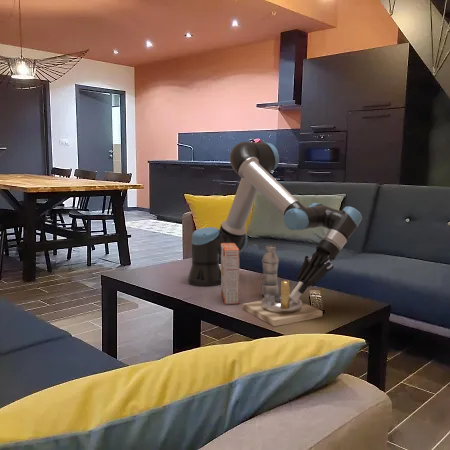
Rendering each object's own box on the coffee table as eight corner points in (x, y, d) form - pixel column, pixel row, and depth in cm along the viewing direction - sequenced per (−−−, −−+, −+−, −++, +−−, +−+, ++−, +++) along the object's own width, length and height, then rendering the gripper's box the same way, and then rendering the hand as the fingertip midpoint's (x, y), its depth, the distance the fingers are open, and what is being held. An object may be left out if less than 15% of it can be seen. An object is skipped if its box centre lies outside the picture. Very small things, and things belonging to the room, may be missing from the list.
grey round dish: (259, 300, 172) (260, 271, 171) (297, 300, 173) (298, 271, 171) (264, 315, 157) (265, 282, 155) (306, 314, 157) (307, 282, 155)
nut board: (242, 309, 170) (242, 303, 170) (287, 301, 180) (287, 295, 179) (274, 326, 153) (274, 320, 152) (322, 316, 162) (322, 310, 162)
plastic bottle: (277, 298, 183) (278, 248, 180) (260, 297, 184) (261, 247, 181) (279, 294, 189) (280, 245, 186) (262, 293, 190) (263, 244, 187)
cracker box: (220, 294, 189) (220, 242, 186) (235, 293, 189) (235, 242, 187) (223, 304, 175) (223, 249, 172) (239, 304, 176) (240, 249, 173)
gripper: (349, 255, 160) (310, 310, 155) (324, 248, 172) (286, 300, 166) (338, 241, 157) (298, 297, 151) (312, 235, 168) (274, 288, 163)
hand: (292, 299), depth 159 cm, fingers closed
